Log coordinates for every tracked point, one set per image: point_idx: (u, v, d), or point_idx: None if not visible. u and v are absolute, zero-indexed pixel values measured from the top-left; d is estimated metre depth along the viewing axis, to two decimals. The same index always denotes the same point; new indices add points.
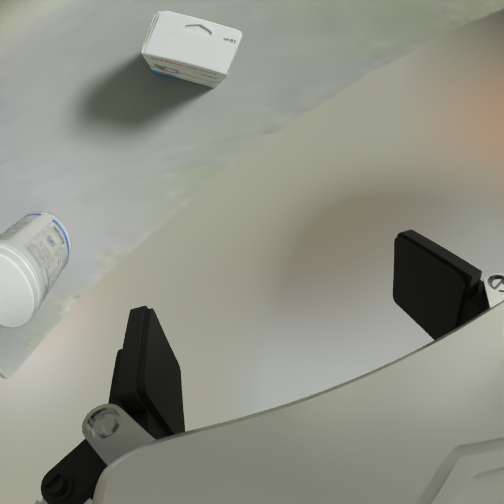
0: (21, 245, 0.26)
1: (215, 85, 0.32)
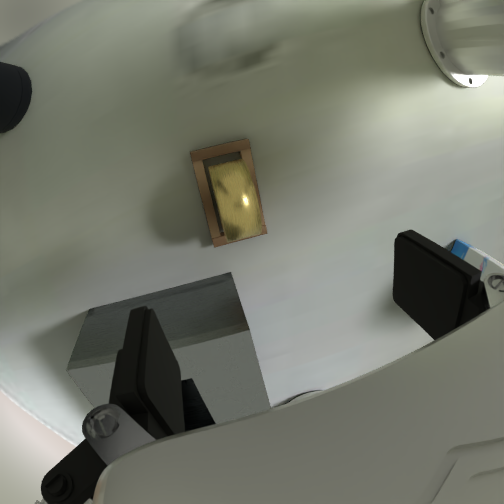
0: None
1: None
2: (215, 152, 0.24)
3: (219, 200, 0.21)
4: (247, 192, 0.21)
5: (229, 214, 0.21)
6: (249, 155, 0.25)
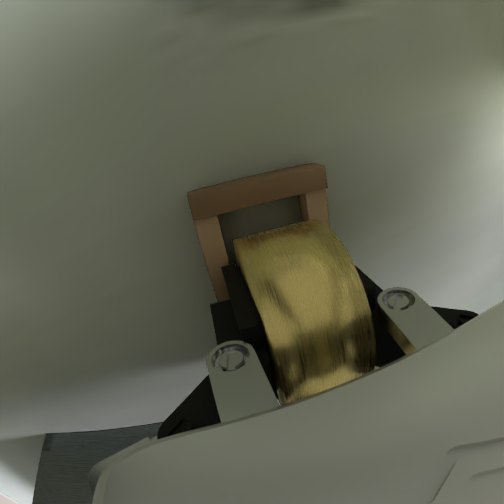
0: None
1: None
2: (249, 195, 0.10)
3: (281, 365, 0.07)
4: (355, 336, 0.07)
5: (304, 390, 0.07)
6: (322, 202, 0.11)
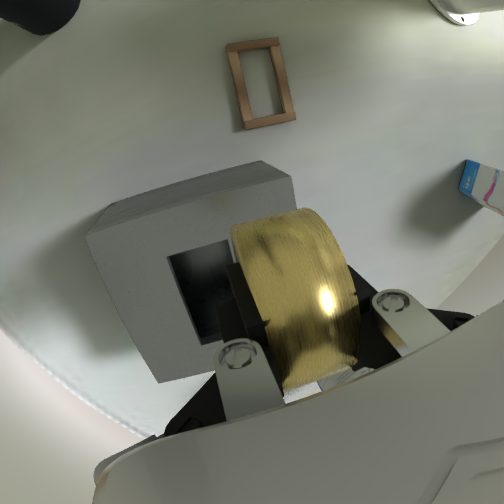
0: None
1: None
2: (249, 45, 0.23)
3: None
4: (341, 369, 0.09)
5: None
6: (278, 50, 0.24)
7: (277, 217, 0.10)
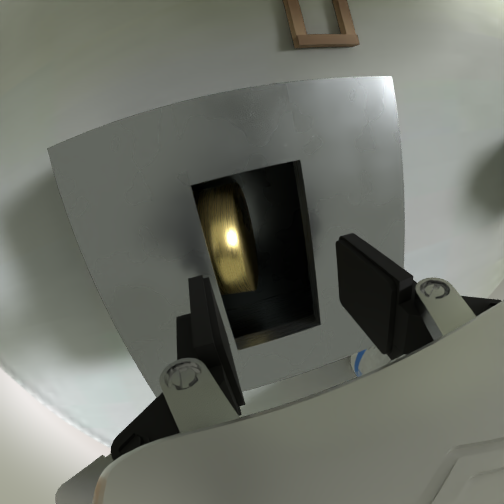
0: None
1: None
2: None
3: None
4: None
5: None
6: None
7: (210, 224, 0.14)
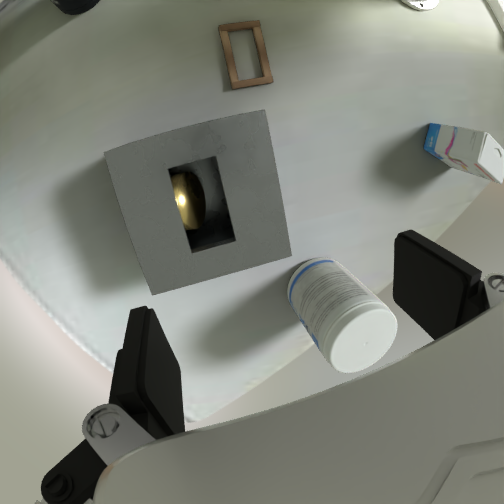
0: (378, 298, 0.34)
1: (461, 170, 0.41)
2: (236, 25, 0.29)
3: None
4: None
5: None
6: (259, 30, 0.30)
7: None
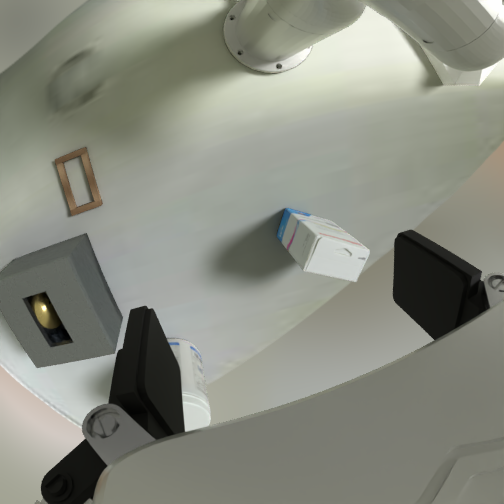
0: (193, 388, 0.40)
1: None
2: (67, 157, 0.35)
3: None
4: None
5: None
6: (85, 157, 0.35)
7: (31, 306, 0.35)
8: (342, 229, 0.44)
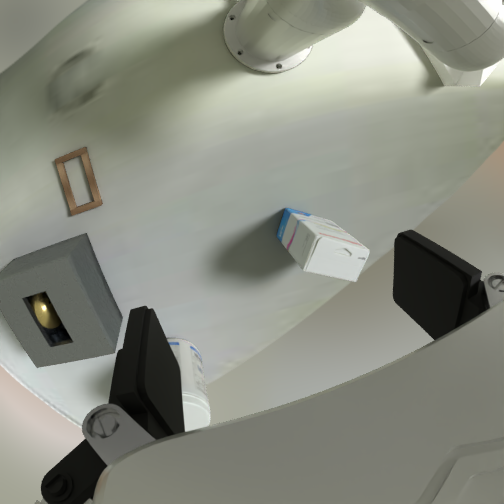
0: (193, 387, 0.40)
1: None
2: (67, 157, 0.35)
3: None
4: None
5: None
6: (85, 157, 0.35)
7: (31, 306, 0.35)
8: (342, 229, 0.44)
